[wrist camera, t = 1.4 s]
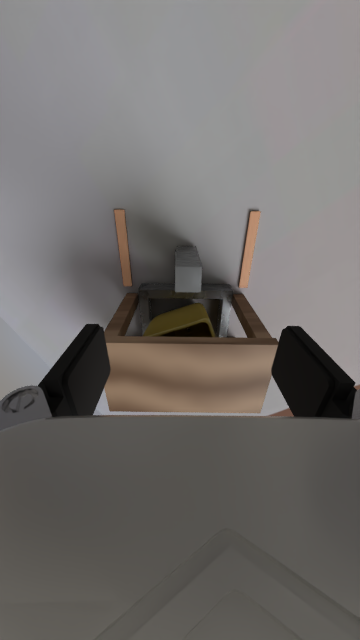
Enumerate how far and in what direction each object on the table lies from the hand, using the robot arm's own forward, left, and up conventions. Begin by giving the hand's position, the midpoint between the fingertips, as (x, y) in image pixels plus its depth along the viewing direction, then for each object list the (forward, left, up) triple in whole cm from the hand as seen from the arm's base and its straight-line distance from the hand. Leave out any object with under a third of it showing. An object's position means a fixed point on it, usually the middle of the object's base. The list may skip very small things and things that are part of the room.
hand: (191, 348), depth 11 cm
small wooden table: (+10, 0, -21) cm, 23 cm away
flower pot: (+10, 0, -21) cm, 23 cm away
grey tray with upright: (+8, 0, -21) cm, 22 cm away
